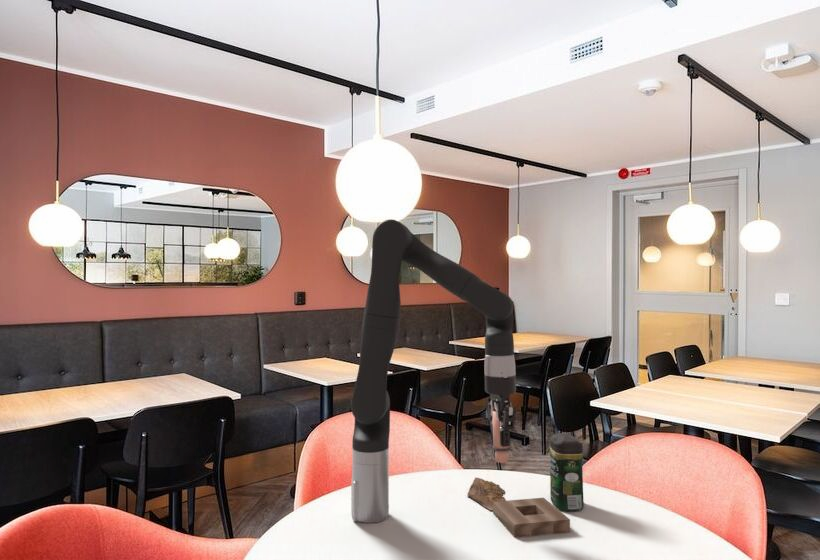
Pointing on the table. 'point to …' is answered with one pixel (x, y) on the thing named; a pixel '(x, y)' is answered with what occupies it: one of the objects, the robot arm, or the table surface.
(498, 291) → the robot arm
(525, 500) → the walnut board
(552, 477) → the coffee jar
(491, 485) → the wooden fragment
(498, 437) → the terracotta leg
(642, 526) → the table surface
